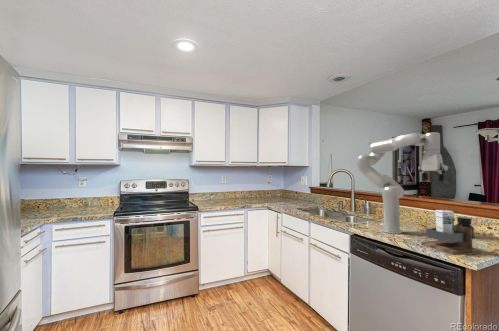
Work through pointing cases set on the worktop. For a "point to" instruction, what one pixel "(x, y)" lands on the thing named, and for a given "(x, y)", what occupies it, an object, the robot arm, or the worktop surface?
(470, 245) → the bracket board
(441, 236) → the open storage bin
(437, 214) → the syrup box
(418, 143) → the robot arm
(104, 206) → the worktop surface
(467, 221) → the ink bottle
